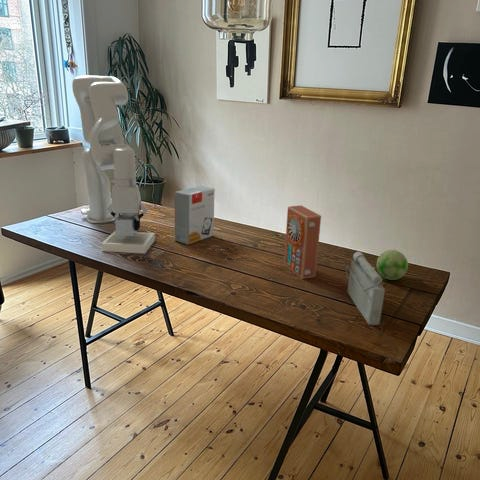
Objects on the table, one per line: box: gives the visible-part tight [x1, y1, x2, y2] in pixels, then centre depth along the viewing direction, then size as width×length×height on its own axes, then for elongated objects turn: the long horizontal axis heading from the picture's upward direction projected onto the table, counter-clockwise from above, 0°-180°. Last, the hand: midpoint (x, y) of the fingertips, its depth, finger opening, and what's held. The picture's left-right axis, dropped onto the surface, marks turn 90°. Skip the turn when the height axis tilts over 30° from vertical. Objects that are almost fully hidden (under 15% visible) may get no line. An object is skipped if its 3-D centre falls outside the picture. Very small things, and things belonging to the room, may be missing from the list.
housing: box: [114, 214, 138, 236], centre depth 170 cm, size 10×6×6 cm, turn 176°
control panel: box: [283, 205, 322, 280], centre depth 152 cm, size 21×7×15 cm
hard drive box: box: [173, 185, 215, 246], centre depth 179 cm, size 16×8×20 cm, turn 143°
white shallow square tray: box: [101, 230, 156, 255], centre depth 172 cm, size 16×14×3 cm
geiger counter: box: [345, 251, 386, 326], centre depth 132 cm, size 14×6×25 cm
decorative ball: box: [376, 249, 409, 281], centre depth 150 cm, size 10×10×10 cm
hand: (128, 228), depth 171 cm, fingers closed on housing, 6 cm apart
